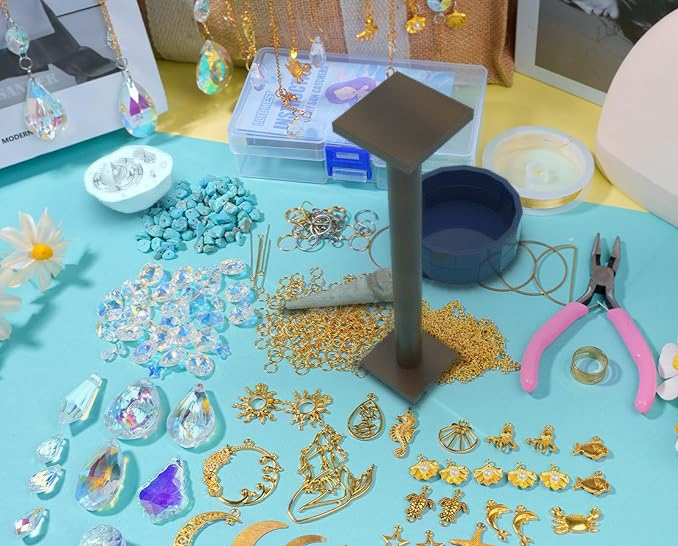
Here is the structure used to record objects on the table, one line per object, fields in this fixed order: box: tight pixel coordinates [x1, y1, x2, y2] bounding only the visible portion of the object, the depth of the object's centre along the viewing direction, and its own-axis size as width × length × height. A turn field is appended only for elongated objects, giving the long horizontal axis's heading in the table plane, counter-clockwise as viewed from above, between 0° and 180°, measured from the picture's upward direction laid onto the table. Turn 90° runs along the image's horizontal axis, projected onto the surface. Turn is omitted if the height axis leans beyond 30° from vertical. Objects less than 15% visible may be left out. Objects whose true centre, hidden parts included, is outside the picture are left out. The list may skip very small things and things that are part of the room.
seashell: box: [285, 267, 393, 310], centre depth 99 cm, size 4×16×4 cm, turn 98°
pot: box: [422, 164, 524, 285], centre depth 102 cm, size 15×15×6 cm
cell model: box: [83, 145, 173, 214], centre depth 111 cm, size 10×12×7 cm
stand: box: [331, 70, 475, 406], centre depth 80 cm, size 8×8×36 cm
